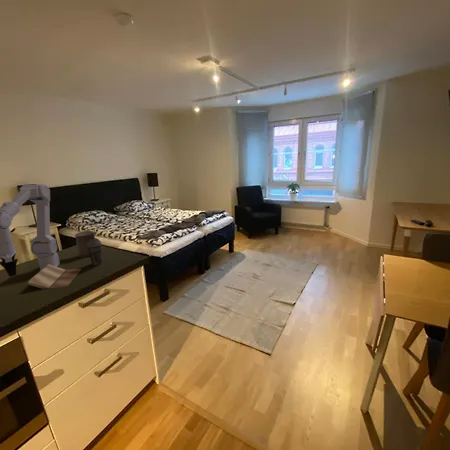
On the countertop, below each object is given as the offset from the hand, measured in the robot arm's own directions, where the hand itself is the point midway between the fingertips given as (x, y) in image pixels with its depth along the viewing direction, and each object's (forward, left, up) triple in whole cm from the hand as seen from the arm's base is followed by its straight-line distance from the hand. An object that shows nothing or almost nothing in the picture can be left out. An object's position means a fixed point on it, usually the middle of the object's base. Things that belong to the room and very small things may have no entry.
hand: (12, 272), depth 106 cm
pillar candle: (-39, +16, -10) cm, 43 cm away
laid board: (-8, +17, -10) cm, 21 cm away
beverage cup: (-22, +26, -10) cm, 36 cm away
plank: (-8, +9, -7) cm, 14 cm away
